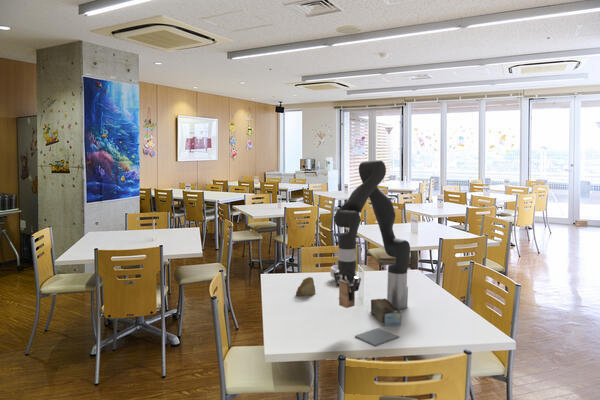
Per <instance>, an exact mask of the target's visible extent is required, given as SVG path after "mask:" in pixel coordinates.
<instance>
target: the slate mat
mask: <svg viewBox="0 0 600 400" xmlns="http://www.w3.org/2000/svg"><path fill="white" fill-rule="evenodd" d="M398 337H399V338H400V336H399V335H397V334H396V333H392V332H390V331H388V330H386V329H382V328H380V327H377V328H373V329H371V330H367V331H365V332H362V333H359V334H356V335H354V338H356V339H359V340H361V341H363V342H365V343H367V342H368V343H367V344H369V343H370V344H369V345H371V344H372V346H374V345H375V346H374V347H376V345H377V346H379V344H380V345H382V344H384V342H385V343H387V341H388V342H391V341H393V340H396V339H399V338H398ZM395 338H396V339H395ZM392 339H393V340H392Z"/></svg>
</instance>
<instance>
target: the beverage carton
mask: <svg viewBox="0 0 600 400" xmlns="http://www.w3.org/2000/svg"><path fill="white" fill-rule="evenodd" d="M370 311H371V312H372V314H373V315H374V316H375V317H376V318H377V319H378V321H380V323H381V324H382V325H383V326H384V327H391V326H392V327H393V325H396V326H401V325H402V313H401V312H400V310H399V309H396V308H395V307H394V306H393V305H392V304H391V303H390V302H389V301H388V300H387V298H376V299H371V300H370Z"/></svg>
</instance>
